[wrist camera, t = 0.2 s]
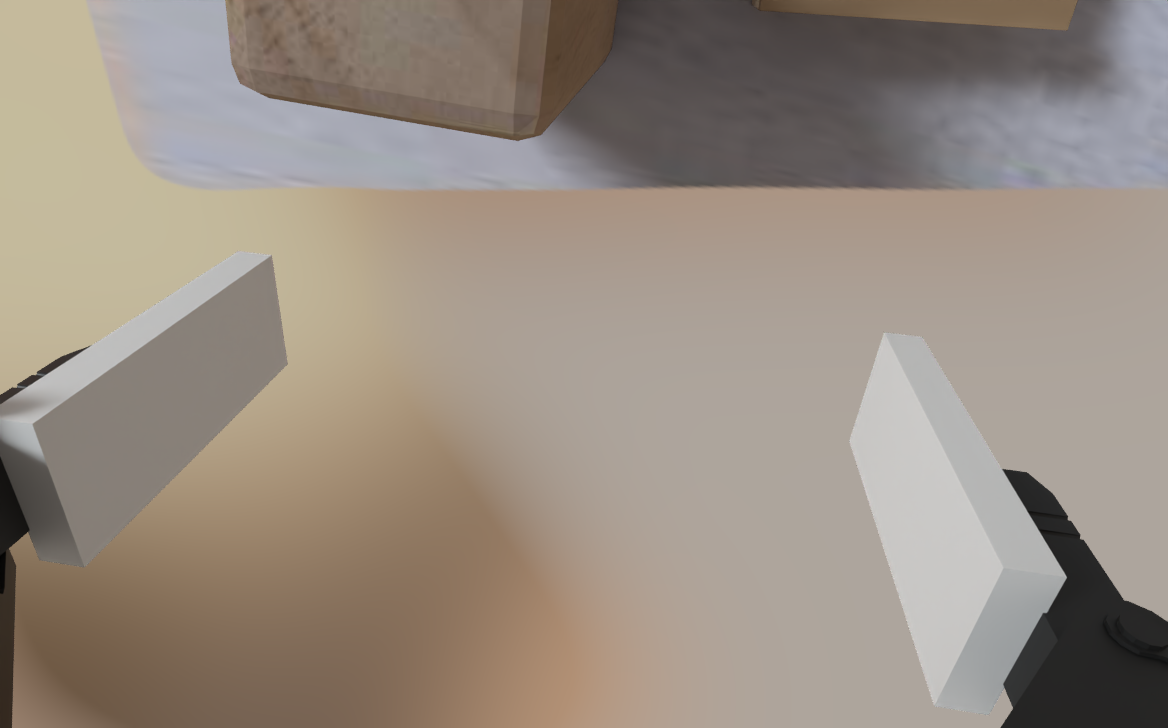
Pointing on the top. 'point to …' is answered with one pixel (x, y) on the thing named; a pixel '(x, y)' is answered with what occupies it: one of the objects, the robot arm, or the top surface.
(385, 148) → the top surface
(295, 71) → the wooden block
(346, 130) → the top surface
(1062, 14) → the wooden tray
